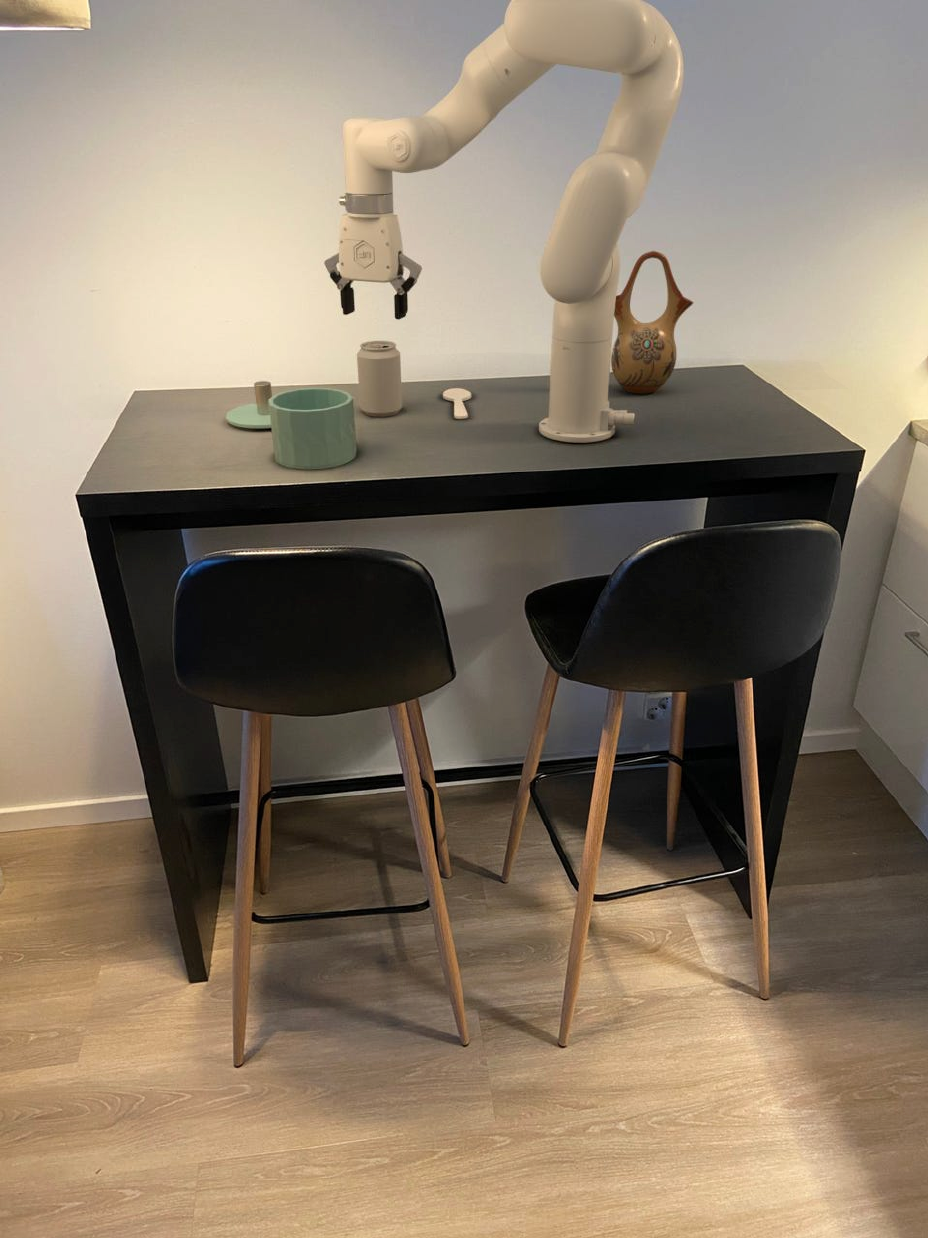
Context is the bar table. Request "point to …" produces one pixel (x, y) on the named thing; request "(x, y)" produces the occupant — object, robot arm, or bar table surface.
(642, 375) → the ceramic vessel
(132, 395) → the bar table surface
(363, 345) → the can
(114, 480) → the bar table surface
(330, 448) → the pot
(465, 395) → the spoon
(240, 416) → the pot lid
